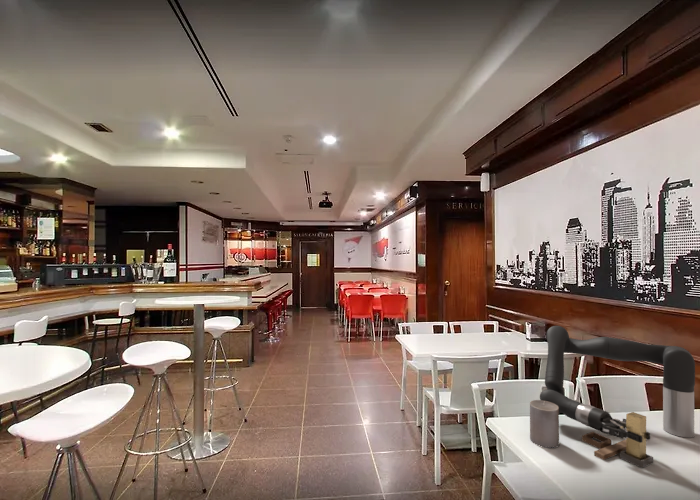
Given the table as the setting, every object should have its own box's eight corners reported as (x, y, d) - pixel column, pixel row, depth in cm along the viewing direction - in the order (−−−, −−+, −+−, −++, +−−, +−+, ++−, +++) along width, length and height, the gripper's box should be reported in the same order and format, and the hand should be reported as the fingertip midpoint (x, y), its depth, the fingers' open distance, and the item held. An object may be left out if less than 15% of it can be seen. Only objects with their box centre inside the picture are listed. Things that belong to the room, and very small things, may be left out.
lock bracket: (603, 433, 145) (603, 428, 145) (663, 458, 127) (663, 452, 127) (570, 444, 136) (570, 439, 136) (630, 473, 118) (630, 466, 118)
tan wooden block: (632, 452, 129) (632, 411, 129) (646, 458, 125) (646, 416, 125) (626, 454, 127) (626, 414, 127) (639, 460, 123) (639, 418, 123)
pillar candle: (537, 432, 145) (537, 394, 145) (564, 443, 137) (563, 402, 137) (524, 440, 139) (524, 400, 139) (551, 451, 131) (551, 409, 131)
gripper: (581, 410, 136) (633, 431, 120) (604, 404, 142) (657, 422, 126) (581, 431, 136) (633, 454, 120) (604, 423, 142) (657, 444, 126)
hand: (645, 438), depth 123 cm, fingers closed on tan wooden block, 4 cm apart
